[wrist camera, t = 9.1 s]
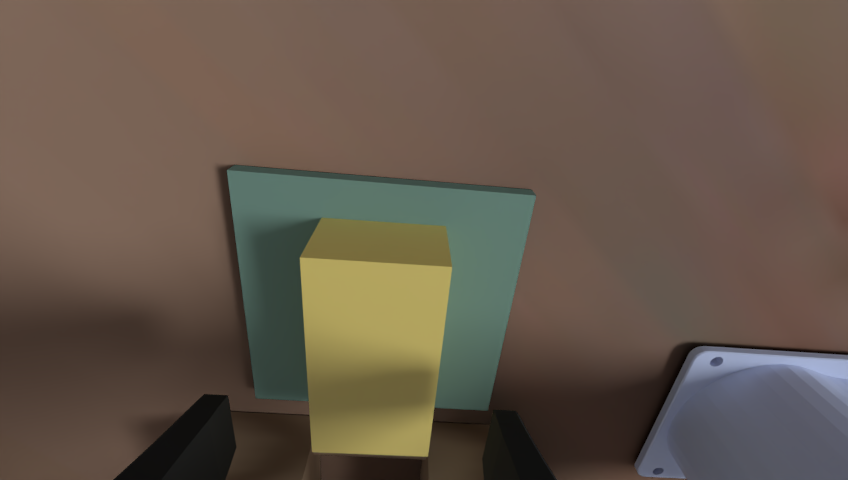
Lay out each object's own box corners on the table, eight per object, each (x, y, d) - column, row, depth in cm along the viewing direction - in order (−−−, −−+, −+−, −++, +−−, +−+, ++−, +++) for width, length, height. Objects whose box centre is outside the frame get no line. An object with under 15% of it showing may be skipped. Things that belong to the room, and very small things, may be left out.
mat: (531, 189, 14) (536, 195, 13) (485, 399, 18) (487, 410, 18) (234, 164, 13) (226, 170, 13) (260, 387, 18) (255, 398, 17)
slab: (445, 226, 14) (452, 266, 11) (426, 396, 17) (427, 457, 15) (321, 217, 13) (299, 257, 11) (327, 391, 17) (311, 452, 14)
